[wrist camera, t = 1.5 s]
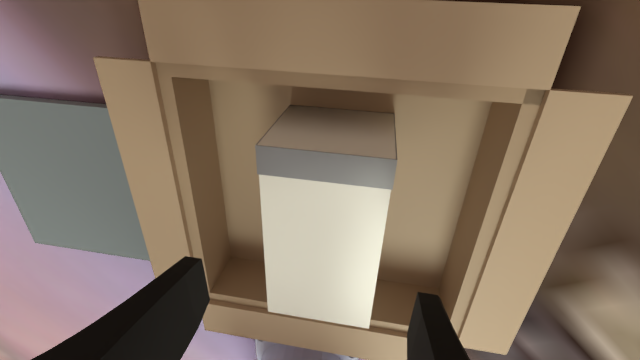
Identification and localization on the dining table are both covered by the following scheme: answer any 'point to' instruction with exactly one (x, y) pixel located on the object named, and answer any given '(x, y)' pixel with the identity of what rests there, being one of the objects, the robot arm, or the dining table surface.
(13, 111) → the mat
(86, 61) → the dining table surface
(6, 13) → the dining table surface
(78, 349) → the robot arm
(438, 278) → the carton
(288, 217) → the box
